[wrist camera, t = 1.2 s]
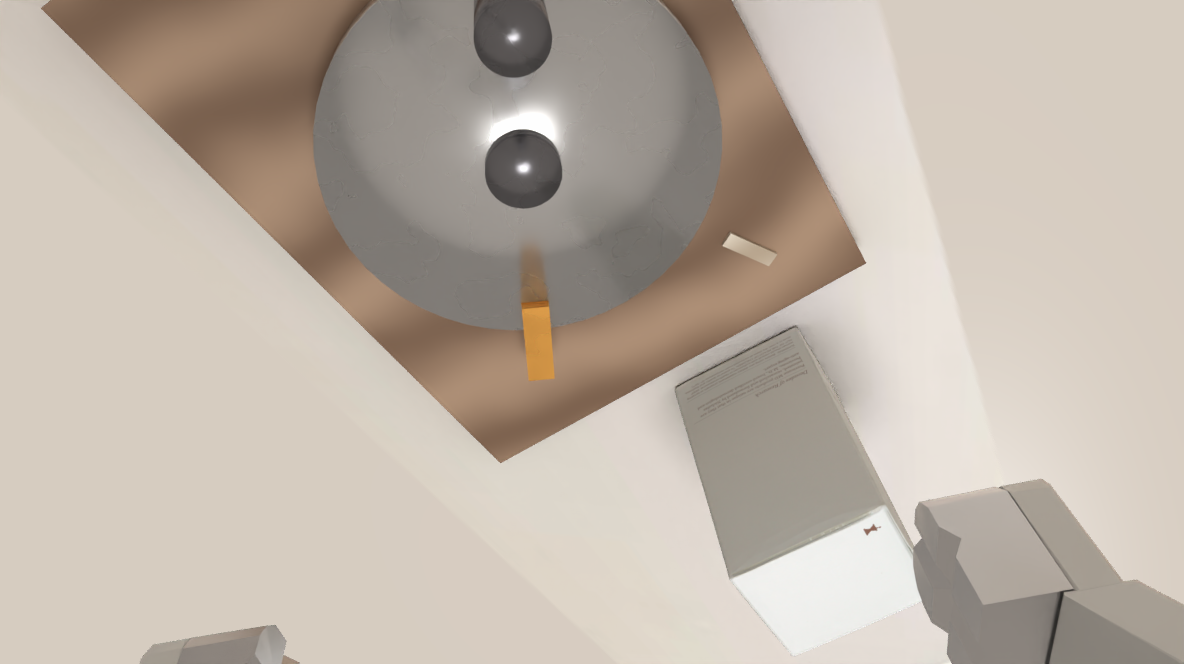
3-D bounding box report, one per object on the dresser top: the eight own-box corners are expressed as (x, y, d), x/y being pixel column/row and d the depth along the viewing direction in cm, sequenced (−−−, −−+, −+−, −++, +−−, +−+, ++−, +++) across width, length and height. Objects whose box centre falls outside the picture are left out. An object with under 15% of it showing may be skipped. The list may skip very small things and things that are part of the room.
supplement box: (669, 386, 47) (724, 578, 36) (797, 321, 45) (892, 504, 35) (727, 468, 51) (790, 662, 40) (846, 412, 49) (943, 599, 39)
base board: (57, -4, 33) (38, 9, 31) (527, -388, 28) (530, -392, 26) (499, 443, 48) (500, 465, 46) (855, 247, 43) (867, 265, 41)
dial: (704, 338, 43) (735, 428, 37) (370, 369, 42) (355, 465, 36) (724, -74, 32) (773, -29, 27) (274, -46, 31) (233, 5, 26)
